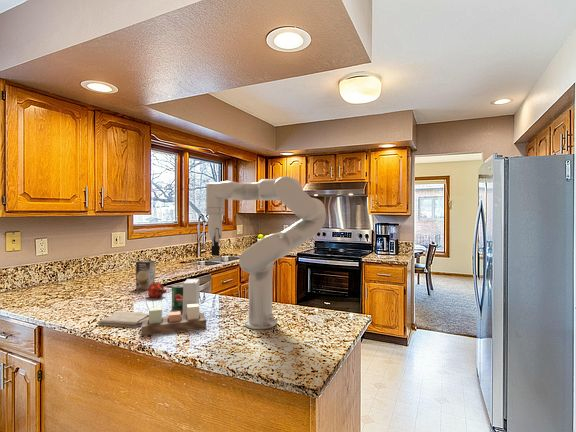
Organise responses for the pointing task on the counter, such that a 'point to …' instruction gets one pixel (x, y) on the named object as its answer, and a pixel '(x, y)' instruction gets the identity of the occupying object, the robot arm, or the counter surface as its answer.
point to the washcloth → (124, 319)
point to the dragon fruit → (156, 290)
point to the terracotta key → (174, 316)
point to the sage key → (155, 315)
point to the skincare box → (190, 293)
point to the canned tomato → (177, 297)
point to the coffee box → (145, 274)
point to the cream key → (192, 311)
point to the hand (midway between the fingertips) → (215, 255)
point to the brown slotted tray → (173, 325)
